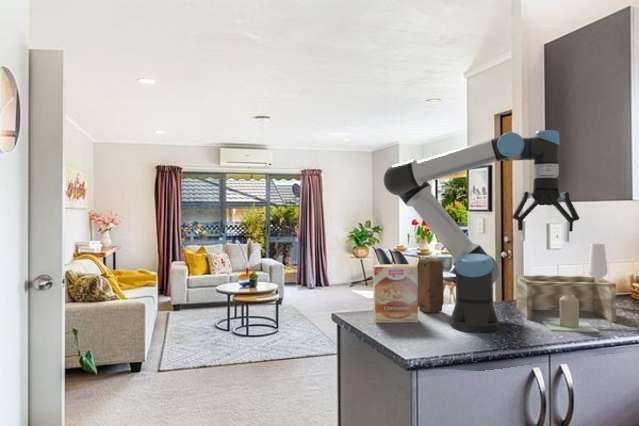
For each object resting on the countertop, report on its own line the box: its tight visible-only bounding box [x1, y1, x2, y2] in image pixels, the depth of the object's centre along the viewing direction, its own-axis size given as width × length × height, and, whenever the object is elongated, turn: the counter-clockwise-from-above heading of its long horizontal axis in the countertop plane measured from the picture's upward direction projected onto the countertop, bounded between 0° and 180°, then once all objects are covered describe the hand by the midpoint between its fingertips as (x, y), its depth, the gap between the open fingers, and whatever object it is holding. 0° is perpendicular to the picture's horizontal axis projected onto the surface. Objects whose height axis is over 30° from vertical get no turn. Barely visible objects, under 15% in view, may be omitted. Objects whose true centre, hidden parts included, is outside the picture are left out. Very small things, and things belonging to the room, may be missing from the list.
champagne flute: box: [587, 243, 609, 279], centre depth 188 cm, size 7×7×24 cm
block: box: [416, 257, 445, 314], centre depth 180 cm, size 11×8×20 cm
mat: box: [541, 320, 600, 334], centre depth 154 cm, size 14×11×1 cm
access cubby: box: [515, 274, 617, 323], centre depth 171 cm, size 28×18×13 cm, turn 78°
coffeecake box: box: [372, 263, 419, 324], centre depth 166 cm, size 15×7×20 cm, turn 88°
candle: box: [559, 294, 580, 328], centre depth 154 cm, size 6×6×10 cm
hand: (544, 241), depth 158 cm, fingers open, 13 cm apart
